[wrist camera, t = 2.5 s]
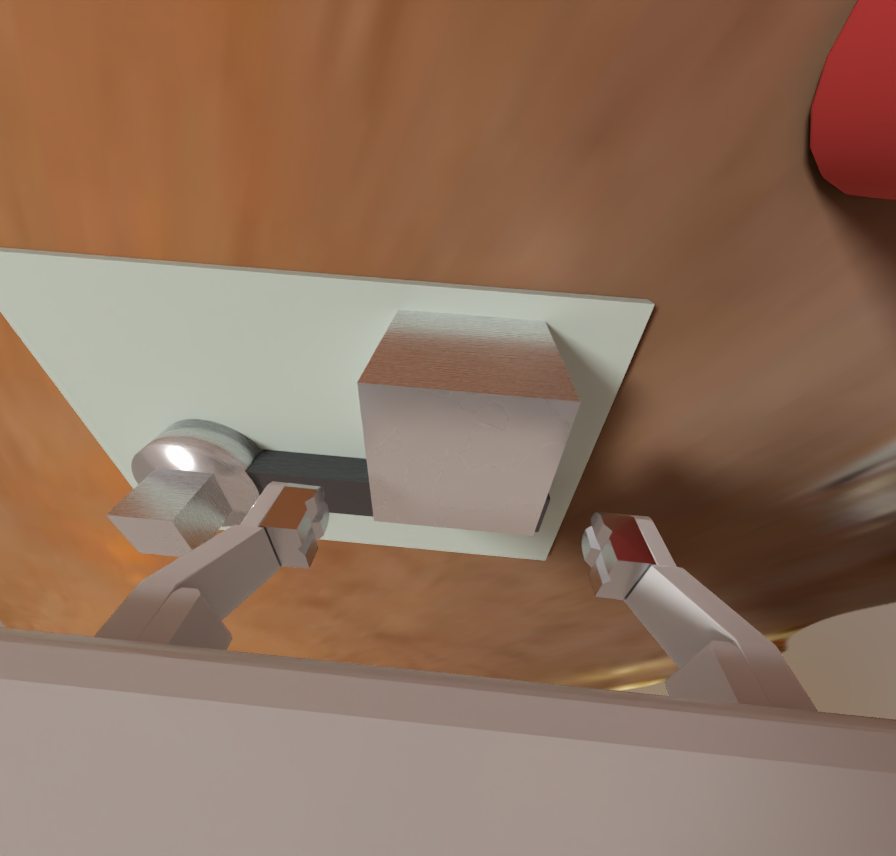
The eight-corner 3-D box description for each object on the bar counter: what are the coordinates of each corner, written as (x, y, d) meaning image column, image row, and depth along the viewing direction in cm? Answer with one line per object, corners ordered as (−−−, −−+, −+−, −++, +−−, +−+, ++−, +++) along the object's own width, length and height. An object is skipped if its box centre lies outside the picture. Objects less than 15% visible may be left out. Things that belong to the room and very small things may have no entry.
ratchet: (141, 414, 18) (43, 485, 14) (552, 450, 18) (575, 535, 14) (189, 493, 22) (124, 567, 18) (528, 525, 22) (539, 608, 18)
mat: (-31, 244, 14) (-48, 247, 14) (648, 299, 14) (654, 304, 13) (165, 517, 25) (159, 523, 25) (544, 553, 25) (545, 560, 24)
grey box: (398, 309, 14) (357, 382, 9) (544, 321, 14) (580, 401, 9) (401, 425, 18) (374, 520, 13) (517, 435, 17) (533, 536, 13)
